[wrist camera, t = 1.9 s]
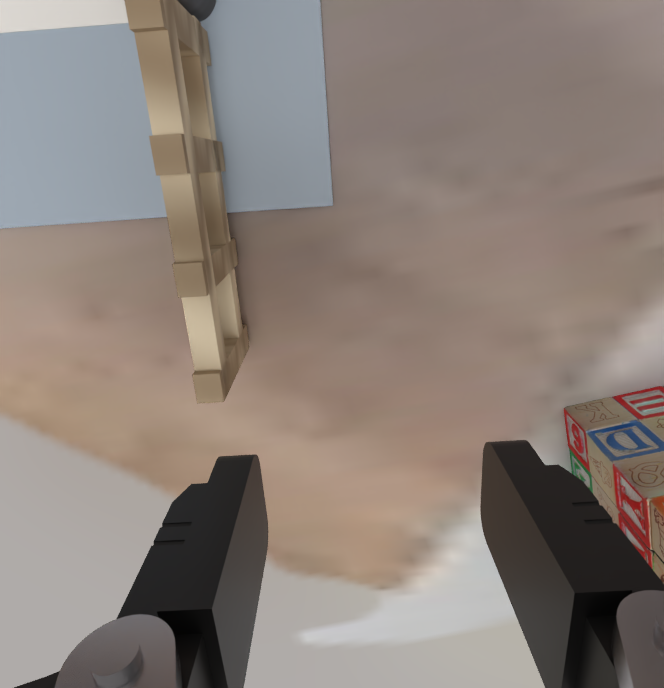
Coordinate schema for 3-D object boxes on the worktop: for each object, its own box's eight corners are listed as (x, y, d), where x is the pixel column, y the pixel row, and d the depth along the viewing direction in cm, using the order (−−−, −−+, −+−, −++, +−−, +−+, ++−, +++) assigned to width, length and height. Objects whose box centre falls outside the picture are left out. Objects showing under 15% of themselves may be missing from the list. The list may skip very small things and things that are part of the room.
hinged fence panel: (181, 31, 23) (120, -23, 16) (207, 29, 23) (155, -26, 16) (229, 348, 28) (197, 403, 22) (249, 347, 28) (223, 401, 22)
